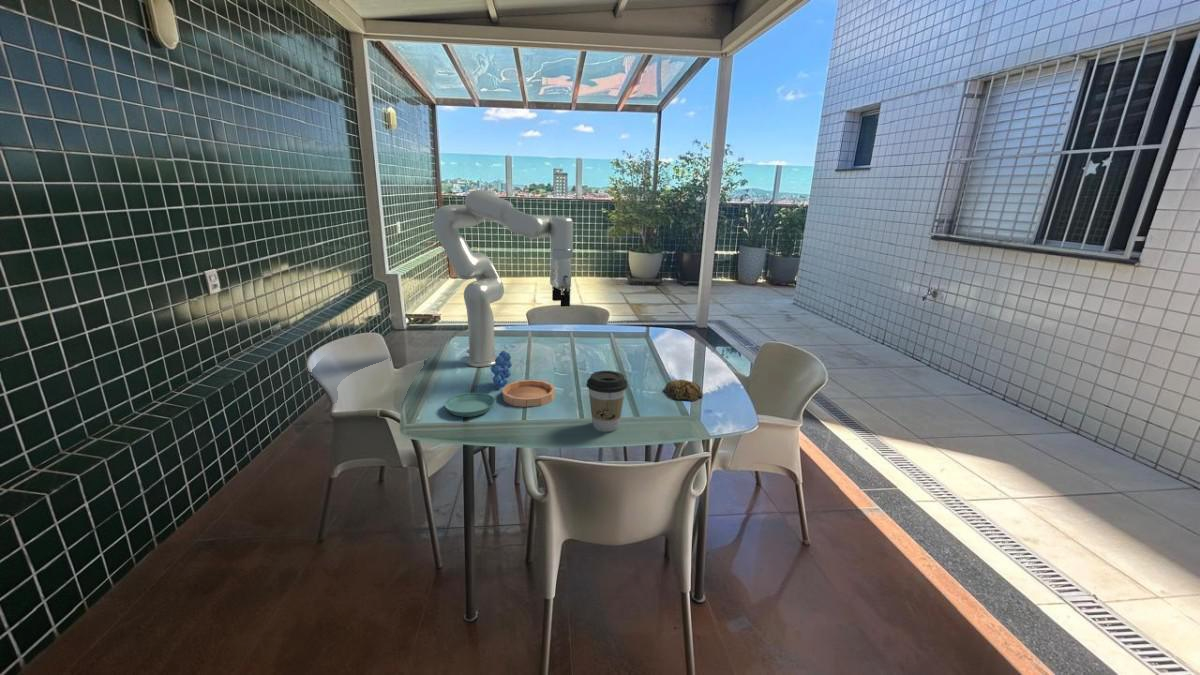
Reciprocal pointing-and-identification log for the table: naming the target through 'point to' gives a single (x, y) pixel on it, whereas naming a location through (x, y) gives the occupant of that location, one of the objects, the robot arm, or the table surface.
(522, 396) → the platter
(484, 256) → the robot arm
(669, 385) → the bread roll
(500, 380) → the grapes
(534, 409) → the table surface
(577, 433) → the table surface
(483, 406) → the saucer
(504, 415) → the table surface
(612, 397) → the coffee cup
